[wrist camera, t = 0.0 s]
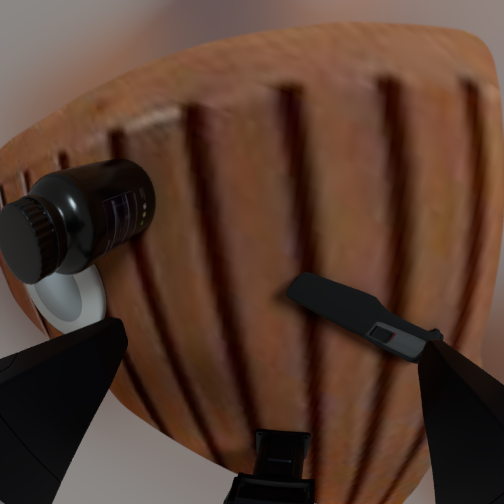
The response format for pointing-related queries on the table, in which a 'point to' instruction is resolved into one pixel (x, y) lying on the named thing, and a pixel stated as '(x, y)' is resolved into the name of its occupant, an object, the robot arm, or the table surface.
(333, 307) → the electric trimmer
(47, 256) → the supplement bottle
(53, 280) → the saucer
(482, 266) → the table surface
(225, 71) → the table surface
